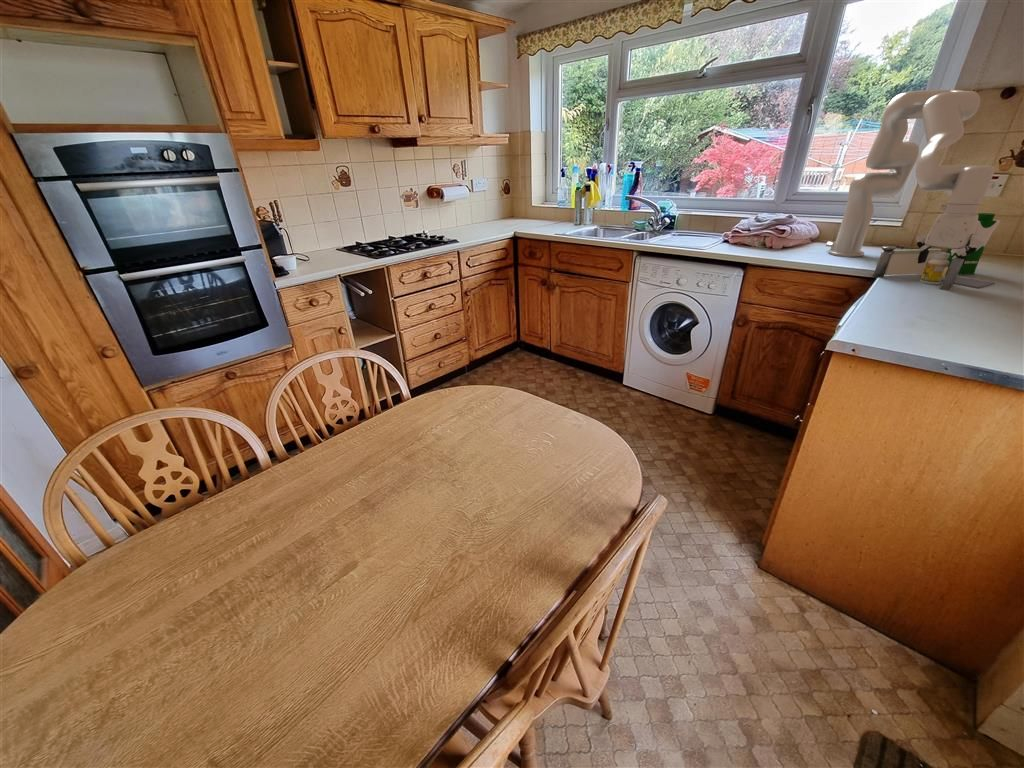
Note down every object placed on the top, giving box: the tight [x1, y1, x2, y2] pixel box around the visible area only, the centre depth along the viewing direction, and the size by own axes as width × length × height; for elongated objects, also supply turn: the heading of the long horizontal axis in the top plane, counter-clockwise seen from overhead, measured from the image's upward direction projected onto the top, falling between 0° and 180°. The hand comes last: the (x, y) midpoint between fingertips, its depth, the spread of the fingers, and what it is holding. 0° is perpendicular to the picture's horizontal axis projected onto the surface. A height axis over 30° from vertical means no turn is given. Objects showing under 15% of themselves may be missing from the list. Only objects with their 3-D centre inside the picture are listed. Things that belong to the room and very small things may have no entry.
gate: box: [884, 248, 943, 276], centre depth 151 cm, size 16×2×8 cm, turn 89°
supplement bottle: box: [919, 251, 950, 285], centre depth 143 cm, size 5×5×10 cm
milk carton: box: [945, 212, 1001, 275], centre depth 151 cm, size 9×9×20 cm
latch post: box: [939, 258, 964, 291], centre depth 136 cm, size 3×3×10 cm
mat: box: [941, 275, 996, 289], centre depth 143 cm, size 10×10×1 cm
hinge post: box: [873, 245, 897, 278], centre depth 152 cm, size 4×4×10 cm
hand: (938, 265), depth 142 cm, fingers open, 9 cm apart
